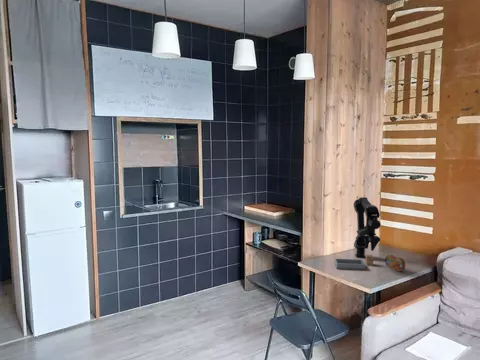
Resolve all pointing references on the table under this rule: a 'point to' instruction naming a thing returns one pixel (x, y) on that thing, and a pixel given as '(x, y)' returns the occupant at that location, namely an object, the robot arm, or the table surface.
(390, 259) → the tin
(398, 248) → the table surface
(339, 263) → the bin
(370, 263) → the block
